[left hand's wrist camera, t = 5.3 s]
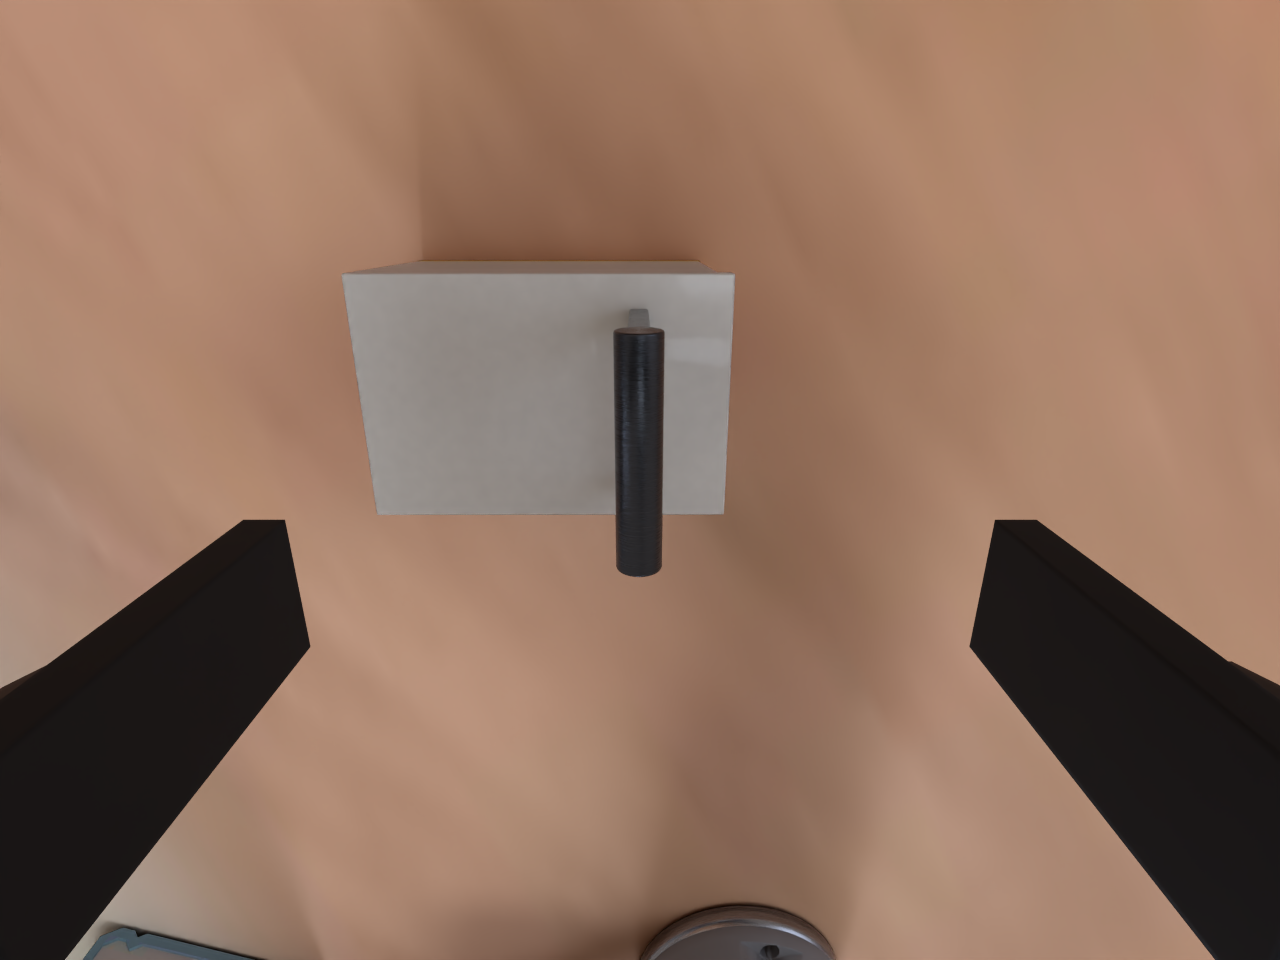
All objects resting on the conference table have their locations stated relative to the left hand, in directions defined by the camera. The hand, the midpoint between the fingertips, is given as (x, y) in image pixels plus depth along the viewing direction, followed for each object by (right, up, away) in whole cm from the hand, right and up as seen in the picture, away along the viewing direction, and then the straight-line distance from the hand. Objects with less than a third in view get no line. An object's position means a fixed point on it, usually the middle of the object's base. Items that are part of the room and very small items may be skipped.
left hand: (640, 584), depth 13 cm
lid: (-4, +5, +14) cm, 15 cm away
